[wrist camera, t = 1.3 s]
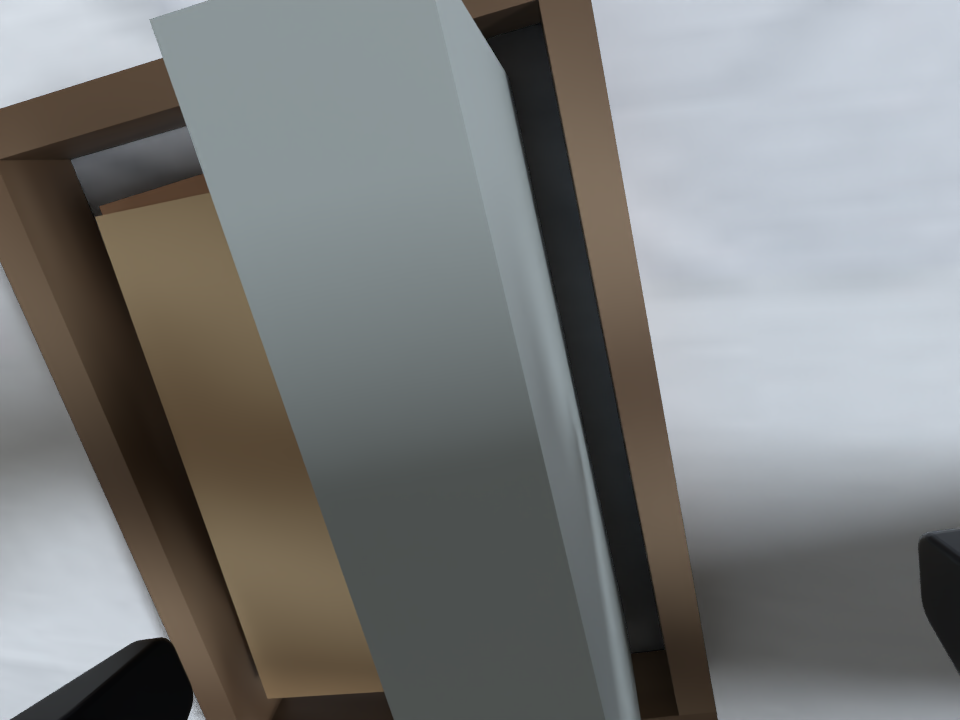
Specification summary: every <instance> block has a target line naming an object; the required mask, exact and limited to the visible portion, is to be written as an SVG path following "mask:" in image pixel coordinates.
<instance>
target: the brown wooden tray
mask: <svg viewBox="0 0 960 720" xmlns="http://www.w3.org/2000/svg"><path fill="white" fill-rule="evenodd" d="M461 1H462V2H463V4H464V6H465V7H466V9H467V10H468V12H469V14H470V15H471V17H472V19H473V20H474V22H475V23H476V25H477V27H478V28H479V30H480V32H481V33H482V35H483V36H484V38H485V39H486V38H490V37H493V36H497V35H500V34H503V33H507V32H510V31H514V30H517V29H521V28H524V27H528V26H531V25H534V24H538V23H541V25H542V30H543V35H544V40H545V45H546V51H547V56H548V61H549V66H550V71H551V76H552V81H553V86H554V91H555V96H556V101H557V106H558V111H559V116H560V122H561V127H562V132H563V137H564V142H565V147H566V152H567V157H568V162H569V167H570V172H571V177H572V182H573V187H574V192H575V198H576V203H577V208H578V213H579V218H580V223H581V228H582V233H583V238H584V243H585V248H586V253H587V258H588V263H589V269H590V274H591V279H592V284H593V289H594V294H595V299H596V304H597V309H598V314H599V319H600V324H601V329H602V334H603V339H604V345H605V350H606V355H607V360H608V365H609V370H610V375H611V380H612V385H613V390H614V395H615V400H616V405H617V410H618V416H619V421H620V426H621V431H622V436H623V441H624V446H625V451H626V456H627V461H628V466H629V471H630V476H631V481H632V486H633V492H634V497H635V502H636V507H637V512H638V517H639V522H640V527H641V532H642V537H643V542H644V547H645V552H646V557H647V563H648V568H649V573H650V578H651V583H652V588H653V593H654V598H655V603H656V608H657V613H658V618H659V623H660V628H661V633H662V639H663V644H664V649H665V650H659V651H650V652H641V653H633V654H631V657H632V664H633V671H634V677H635V684H636V690H637V697H638V703H639V710H640V717H641V720H718V718H717V712H716V707H715V701H714V695H713V689H712V684H711V678H710V672H709V667H708V661H707V655H706V650H705V644H704V638H703V633H702V627H701V621H700V616H699V610H698V604H697V599H696V593H695V587H694V582H693V576H692V570H691V565H690V559H689V553H688V548H687V542H686V536H685V531H684V525H683V519H682V514H681V508H680V502H679V497H678V491H677V485H676V480H675V474H674V468H673V463H672V457H671V451H670V446H669V440H668V434H667V429H666V423H665V417H664V412H663V406H662V400H661V395H660V389H659V383H658V378H657V372H656V366H655V361H654V355H653V349H652V344H651V338H650V332H649V327H648V321H647V315H646V310H645V304H644V298H643V293H642V287H641V281H640V276H639V270H638V264H637V259H636V253H635V247H634V241H633V236H632V230H631V224H630V219H629V213H628V207H627V202H626V196H625V190H624V185H623V179H622V173H621V168H620V162H619V156H618V151H617V145H616V139H615V134H614V128H613V122H612V117H611V111H610V105H609V100H608V94H607V88H606V83H605V77H604V71H603V66H602V60H601V54H600V49H599V43H598V37H597V32H596V26H595V20H594V15H593V9H592V3H591V0H461ZM183 126H187V125H186V123H185V120H184V117H183V114H182V111H181V108H180V105H179V103H178V100H177V97H176V94H175V91H174V88H173V85H172V82H171V80H170V77H169V74H168V71H167V68H166V65H165V62H164V60H163V58H161V59H158V60H155V61H151V62H148V63H145V64H142V65H139V66H135V67H132V68H129V69H126V70H123V71H119V72H116V73H113V74H110V75H107V76H104V77H100V78H97V79H94V80H91V81H88V82H84V83H81V84H78V85H75V86H72V87H68V88H65V89H62V90H59V91H56V92H52V93H49V94H46V95H43V96H40V97H36V98H33V99H30V100H27V101H24V102H21V103H17V104H14V105H11V106H8V107H5V108H1V109H0V262H1V264H2V266H3V268H4V271H5V273H6V275H7V277H8V279H9V282H10V284H11V286H12V288H13V291H14V293H15V295H16V297H17V300H18V302H19V304H20V306H21V308H22V311H23V313H24V315H25V317H26V320H27V322H28V324H29V326H30V328H31V331H32V333H33V335H34V337H35V340H36V342H37V344H38V346H39V349H40V351H41V353H42V355H43V357H44V360H45V362H46V364H47V366H48V369H49V371H50V373H51V375H52V377H53V380H54V382H55V384H56V386H57V389H58V391H59V393H60V395H61V398H62V400H63V402H64V404H65V406H66V409H67V411H68V413H69V415H70V418H71V420H72V422H73V424H74V426H75V429H76V431H77V433H78V435H79V438H80V440H81V442H82V444H83V447H84V449H85V451H86V453H87V455H88V458H89V460H90V462H91V464H92V467H93V469H94V471H95V473H96V475H97V478H98V480H99V482H100V484H101V487H102V489H103V491H104V493H105V496H106V498H107V500H108V502H109V504H110V507H111V509H112V511H113V513H114V516H115V518H116V520H117V522H118V524H119V527H120V529H121V531H122V533H123V536H124V538H125V540H126V542H127V545H128V547H129V549H130V551H131V553H132V556H133V558H134V560H135V562H136V565H137V567H138V569H139V571H140V573H141V576H142V578H143V580H144V582H145V585H146V587H147V589H148V591H149V594H150V596H151V598H152V600H153V602H154V605H155V607H156V609H157V611H158V614H159V616H160V618H161V620H162V622H163V625H164V627H165V629H166V631H167V634H168V636H169V638H170V640H171V642H172V643H173V645H174V647H175V649H176V651H177V654H178V656H179V658H180V660H181V662H182V665H183V667H184V669H185V671H186V674H187V676H188V678H189V680H190V683H191V685H192V689H193V691H194V694H195V696H196V698H197V700H198V703H199V705H200V707H201V709H202V712H203V714H204V716H205V718H206V720H394V719H393V716H392V713H391V710H390V707H389V705H388V702H387V699H386V696H385V693H384V692H369V693H353V694H337V695H320V696H304V697H288V698H272V699H268V698H267V696H266V693H265V690H264V687H263V684H262V682H261V679H260V676H259V673H258V671H257V668H256V665H255V662H254V659H253V657H252V654H251V651H250V648H249V645H248V643H247V640H246V637H245V634H244V631H243V629H242V626H241V623H240V620H239V617H238V615H237V612H236V609H235V606H234V604H233V601H232V598H231V595H230V592H229V590H228V587H227V584H226V581H225V578H224V576H223V573H222V570H221V567H220V564H219V562H218V559H217V556H216V553H215V551H214V548H213V545H212V542H211V539H210V537H209V534H208V531H207V528H206V525H205V523H204V520H203V517H202V514H201V511H200V509H199V506H198V503H197V500H196V497H195V495H194V492H193V489H192V486H191V484H190V481H189V478H188V475H187V472H186V470H185V467H184V464H183V461H182V458H181V456H180V453H179V450H178V447H177V444H176V442H175V439H174V436H173V433H172V430H171V428H170V425H169V422H168V419H167V417H166V414H165V411H164V408H163V405H162V403H161V400H160V397H159V394H158V391H157V389H156V386H155V383H154V380H153V377H152V375H151V372H150V369H149V366H148V363H147V361H146V358H145V355H144V352H143V350H142V347H141V344H140V341H139V338H138V336H137V333H136V330H135V327H134V324H133V322H132V319H131V316H130V313H129V310H128V308H127V305H126V302H125V299H124V296H123V294H122V291H121V288H120V285H119V283H118V280H117V277H116V274H115V271H114V269H113V266H112V263H111V260H110V257H109V255H108V252H107V250H106V247H105V245H104V242H103V240H102V237H101V235H100V232H99V230H98V227H97V225H96V222H95V220H94V217H93V215H92V212H91V210H90V207H89V205H88V202H87V200H86V197H85V195H84V192H83V190H82V187H81V185H80V182H79V180H78V177H77V175H76V173H75V170H74V168H73V165H72V163H71V160H70V159H73V158H77V157H80V156H84V155H87V154H91V153H94V152H97V151H101V150H104V149H108V148H111V147H115V146H118V145H122V144H125V143H128V142H132V141H135V140H139V139H142V138H146V137H149V136H152V135H156V134H159V133H163V132H166V131H170V130H173V129H177V128H180V127H183Z"/></svg>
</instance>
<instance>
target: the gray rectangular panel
mask: <svg viewBox="0 0 960 720" xmlns="http://www.w3.org/2000/svg"><path fill="white" fill-rule="evenodd" d="M150 22H151V25H152V28H153V31H154V34H155V37H156V39H157V42H158V45H159V48H160V51H161V54H162V57H163V60H164V62H165V65H166V68H167V71H168V74H169V77H170V80H171V82H172V85H173V88H174V91H175V94H176V97H177V100H178V103H179V105H180V108H181V111H182V114H183V117H184V120H185V123H186V125H187V128H188V131H189V134H190V137H191V140H192V143H193V146H194V148H195V151H196V154H197V157H198V160H199V163H200V166H201V168H202V171H203V174H204V177H205V180H206V183H207V186H208V189H209V191H210V194H211V197H212V200H213V203H214V206H215V209H216V211H217V214H218V217H219V220H220V223H221V226H222V229H223V232H224V234H225V237H226V240H227V243H228V246H229V249H230V252H231V254H232V257H233V260H234V263H235V266H236V269H237V272H238V275H239V277H240V280H241V283H242V286H243V289H244V292H245V295H246V297H247V300H248V303H249V306H250V309H251V312H252V315H253V318H254V320H255V323H256V326H257V329H258V332H259V335H260V338H261V340H262V343H263V346H264V349H265V352H266V355H267V358H268V361H269V363H270V366H271V369H272V372H273V375H274V378H275V381H276V383H277V386H278V389H279V392H280V395H281V398H282V401H283V404H284V406H285V409H286V412H287V415H288V418H289V421H290V424H291V426H292V429H293V432H294V435H295V438H296V441H297V444H298V447H299V449H300V452H301V455H302V458H303V461H304V464H305V467H306V469H307V472H308V475H309V478H310V481H311V484H312V487H313V490H314V492H315V495H316V498H317V501H318V504H319V507H320V510H321V512H322V515H323V518H324V521H325V524H326V527H327V530H328V533H329V535H330V538H331V541H332V544H333V547H334V550H335V553H336V555H337V558H338V561H339V564H340V567H341V570H342V573H343V576H344V578H345V581H346V584H347V587H348V590H349V593H350V596H351V598H352V601H353V604H354V607H355V610H356V613H357V616H358V619H359V621H360V624H361V627H362V630H363V633H364V636H365V639H366V641H367V644H368V647H369V650H370V653H371V656H372V659H373V662H374V664H375V667H376V670H377V673H378V676H379V679H380V682H381V684H382V687H383V690H384V693H385V696H386V699H387V702H388V705H389V707H390V710H391V713H392V716H393V719H394V720H641V717H640V710H639V703H638V697H637V690H636V684H635V677H634V671H633V664H632V657H631V651H630V644H629V638H628V631H627V625H626V620H625V616H624V611H623V606H622V602H621V597H620V592H619V588H618V583H617V578H616V574H615V569H614V564H613V560H612V555H611V550H610V546H609V541H608V536H607V532H606V527H605V522H604V518H603V513H602V508H601V504H600V499H599V494H598V490H597V485H596V480H595V476H594V471H593V466H592V462H591V457H590V452H589V448H588V443H587V438H586V434H585V429H584V424H583V420H582V415H581V410H580V406H579V401H578V396H577V392H576V387H575V382H574V378H573V373H572V368H571V364H570V359H569V354H568V350H567V345H566V340H565V336H564V331H563V326H562V322H561V317H560V312H559V308H558V303H557V298H556V294H555V289H554V284H553V280H552V275H551V270H550V266H549V261H548V256H547V252H546V247H545V242H544V238H543V233H542V228H541V224H540V219H539V214H538V210H537V205H536V200H535V196H534V191H533V186H532V182H531V177H530V172H529V168H528V163H527V158H526V154H525V149H524V144H523V140H522V135H521V130H520V126H519V121H518V116H517V111H516V107H515V102H514V97H513V93H512V88H511V83H510V79H509V77H508V76H507V74H506V72H505V71H504V69H503V67H502V66H501V64H500V63H499V61H498V59H497V58H496V56H495V54H494V53H493V51H492V49H491V48H490V46H489V45H488V43H487V41H486V40H485V38H484V36H483V35H482V33H481V32H480V30H479V28H478V27H477V25H476V23H475V22H474V20H473V19H472V17H471V15H470V14H469V12H468V10H467V9H466V7H465V6H464V4H463V2H462V1H461V0H208V1H205V2H202V3H199V4H196V5H193V6H190V7H187V8H184V9H181V10H178V11H174V12H171V13H168V14H165V15H162V16H159V17H156V18H153V19H150Z"/></svg>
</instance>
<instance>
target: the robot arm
mask: <svg viewBox="0 0 960 720" xmlns="http://www.w3.org/2000/svg"><path fill="white" fill-rule="evenodd" d="M918 553H919V568H920V584H921V598H922V603H923V607H924V610H925V613H926V616H927V618H928V620H929V622H930V624H931V626H932V628H933V630H934V631H935V633H936V635H937V637H938V638H939V640H940V642H941V643H942V645H943V647H944V649H945V650H946V652H947V654H948V656H949V657H950V659H951V661H952V663H953V664H954V666H955V668H956V670H957V671H958V673H959V675H960V528H955V529H948V530H940V531H933V532H927V533H924V534H923V535H922V536H921V537H920V539H919V543H918ZM192 703H193V689H192V685H191V683H190V680H189V678H188V676H187V674H186V671H185V669H184V667H183V665H182V662H181V660H180V658H179V656H178V654H177V651H176V649H175V647H174V645H173V643H172V642H170V641H169V640H168V639H166V638H162V637H161V638H153V639H146V640H139V641H136V642H133V643H131V644H129V645H128V646H126V647H125V648H123V649H121V650H120V651H118V652H117V653H115V654H114V655H112V656H110V657H109V658H107V659H106V660H104V661H102V662H101V663H99V664H98V665H96V666H94V667H93V668H91V669H90V670H88V671H87V672H85V673H83V674H82V675H80V676H79V677H77V678H75V679H74V680H72V681H71V682H69V683H68V684H66V685H64V686H63V687H61V688H60V689H58V690H56V691H55V692H53V693H52V694H50V695H48V696H47V697H45V698H44V699H42V700H41V701H39V702H37V703H36V704H34V705H33V706H31V707H29V708H28V709H26V710H25V711H23V712H21V713H20V714H18V715H17V716H15V717H14V718H12V719H10V720H187V719H188V716H189V714H190V711H191V708H192Z"/></svg>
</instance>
